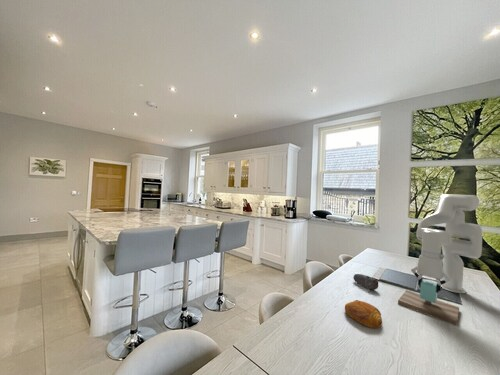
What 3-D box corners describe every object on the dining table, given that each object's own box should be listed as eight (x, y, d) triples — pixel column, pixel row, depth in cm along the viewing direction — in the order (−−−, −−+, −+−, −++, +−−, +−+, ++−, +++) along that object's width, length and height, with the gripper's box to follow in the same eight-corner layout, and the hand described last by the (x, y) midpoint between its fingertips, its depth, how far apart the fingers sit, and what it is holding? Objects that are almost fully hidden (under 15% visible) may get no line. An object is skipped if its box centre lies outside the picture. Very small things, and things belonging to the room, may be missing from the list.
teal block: (422, 294, 113) (422, 279, 113) (436, 299, 109) (437, 283, 109) (419, 298, 109) (420, 282, 109) (435, 303, 105) (436, 286, 105)
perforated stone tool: (350, 281, 135) (351, 271, 135) (356, 280, 138) (356, 270, 138) (373, 292, 122) (374, 280, 122) (379, 291, 124) (379, 279, 124)
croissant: (369, 337, 87) (372, 320, 86) (338, 311, 101) (341, 296, 100) (389, 328, 93) (393, 311, 92) (358, 304, 107) (361, 290, 106)
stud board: (406, 293, 123) (407, 274, 123) (459, 311, 107) (460, 289, 107) (398, 303, 111) (399, 282, 111) (456, 325, 95) (457, 301, 95)
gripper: (454, 258, 105) (452, 294, 105) (411, 249, 118) (409, 281, 118) (453, 261, 100) (451, 298, 100) (408, 251, 113) (406, 285, 113)
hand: (428, 289), depth 109 cm, fingers closed on teal block, 6 cm apart
